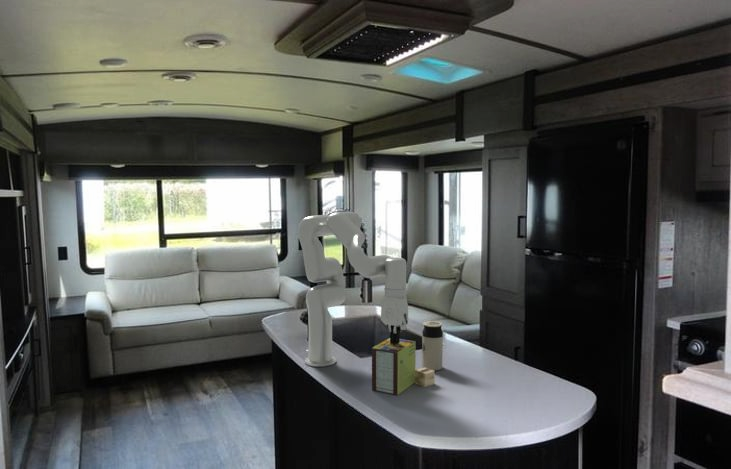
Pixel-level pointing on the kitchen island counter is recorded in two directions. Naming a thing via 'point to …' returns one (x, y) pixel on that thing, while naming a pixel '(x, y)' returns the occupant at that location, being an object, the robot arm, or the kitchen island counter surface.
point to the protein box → (393, 366)
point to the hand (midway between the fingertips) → (394, 343)
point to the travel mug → (432, 345)
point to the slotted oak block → (424, 377)
